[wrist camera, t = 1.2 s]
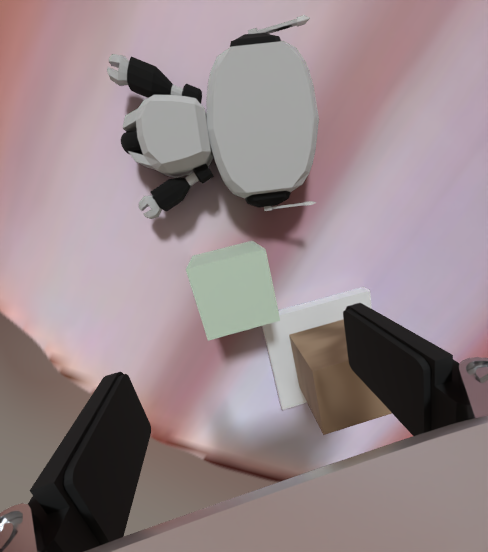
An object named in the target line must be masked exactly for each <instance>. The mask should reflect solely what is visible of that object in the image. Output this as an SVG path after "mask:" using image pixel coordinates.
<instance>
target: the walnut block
mask: <svg viewBox="0 0 488 552" xmlns="http://www.w3.org/2000/svg"><path fill="white" fill-rule="evenodd" d="M289 337H290V342H291V347H292V352H293V358H294V363H295V368H296V373H297V378H298V383H299V387H300V389H301V391H302V393H303V395H304V397H305V399H306V401H307V403H308V405H309V407H310V409H311V411H312V413H313V415H314V417H315V419H316V421H317V423H318V425H319V427H320V429H321V431H322V433H323V435H325V434H328V433H331V432H334V431H338V430H341V429H344V428H347V427H350V426H353V425H357V424H360V423H363V422H366V421H369V420H372V419H375V418H379V417H382V416H385V415H388V414H391V413H392V412H391V411H390V410H389V409H388V408H387V407H386V406H385V405H384V404H383V403H382V402H381V401H380V399H379V398H378V397H377V396H376V395H375V394H374V393H373V392H372V391H371V390H370V389H369V388H368V387H367V386H366V384H365V383H364V382H363V381H362V380H361V379H360V378H359V377H358V376H357V375H356V374H355V373H354V372H353V370H352V369H351V367H350V365H349V361H348V352H347V344H346V336H345V327H344V319H343V320H339V321H336V322H332V323H329V324H325V325H322V326H318V327H314V328H311V329H307V330H304V331H300V332H297V333H293V334H290V335H289Z"/></svg>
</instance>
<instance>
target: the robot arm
mask: <svg viewBox="0 0 488 552" xmlns="http://www.w3.org/2000/svg"><path fill="white" fill-rule="evenodd" d="M343 319H344V327H345V336H346V344H347V352H348V361H349V365H350V367H351V369H352V370H353V372H354V373H355V374H356V375H357V376H358V377H359V378H360V379H361V380H362V381H363V382H364V383H365V384H366V386H367V387H368V388H369V389H370V390H371V391H372V392H373V393H374V394H375V395H376V396H377V397H378V398H379V399H380V401H381V402H382V403H383V404H384V405H385V406H386V407H387V408H388V409H389V410H390V411H391V412H392V413H393V414H394V416H395V417H396V418H397V419H398V420H399V421H400V422H401V423H402V424H403V425H404V426H405V427H406V428H407V429H408V431H409V432H410V433H411V434H412V435H413V437H410V438H407V439H404V440H401V441H398V442H395V443H392V444H389V445H386V446H383V447H380V448H377V449H374V450H371V451H368V452H365V453H362V454H359V455H357V456H354V457H351V458H348V459H345V460H342V461H339V462H336V463H333V464H330V465H327V466H324V467H321V468H318V469H315V470H313V471H310V472H307V473H304V474H301V475H298V476H295V477H292V478H289V479H287V480H284V481H281V482H278V483H275V484H272V485H269V486H266V487H264V488H261V489H258V490H255V491H252V492H249V493H246V494H243V495H240V496H238V497H235V498H232V499H229V500H226V501H223V502H221V503H218V504H215V505H212V506H209V507H206V508H203V509H201V510H198V511H195V512H192V513H189V514H186V515H184V516H181V517H178V518H175V519H172V520H169V521H167V522H164V523H161V524H158V525H156V526H153V527H150V528H147V529H144V530H141V531H138V532H136V533H133V534H130V535H127V536H124V532H125V528H126V524H127V521H128V517H129V513H130V509H131V506H132V502H133V498H134V494H135V491H136V487H137V483H138V480H139V476H140V472H141V468H142V464H143V461H144V457H145V453H146V450H147V446H148V442H149V438H150V434H151V426H150V423H149V421H148V418H147V416H146V414H145V412H144V409H143V407H142V405H141V403H140V401H139V398H138V396H137V394H136V392H135V389H134V387H133V385H132V383H131V380H130V378H129V376H128V375H127V374H123V373H122V372H118V373H114V374H111V375H107V376H105V377H104V378H103V379H102V381H101V382H100V384H99V385H98V387H97V388H96V390H95V391H94V393H93V395H92V396H91V398H90V399H89V401H88V402H87V404H86V405H85V407H84V409H83V410H82V411H81V413H80V414H79V416H78V418H77V419H76V421H75V422H74V424H73V425H72V427H71V428H70V430H69V431H68V433H67V434H66V436H65V437H64V439H63V441H62V442H61V444H60V445H59V447H58V448H57V450H56V451H55V453H54V454H53V456H52V458H51V459H50V461H49V462H48V464H47V465H46V467H45V468H44V470H43V471H42V473H41V474H40V476H39V477H38V479H37V480H36V482H35V483H34V485H33V486H32V488H31V490H30V492H31V493H32V494H33V497H32V498H31V500H30V502H29V503H28V504H24V503H21V504H18V505H14V506H12V507H10V508H8V509H6V510H4V511H2V512H1V513H0V552H488V358H480V357H475V358H468V359H465V360H463V361H462V362H461V363H460V364H459V363H458V362H456V361H454V360H453V355H452V354H450V353H448V352H446V351H445V350H443V349H441V348H439V347H438V346H436V345H434V344H432V343H431V342H429V341H427V340H425V339H423V338H422V337H420V336H418V335H416V334H415V333H413V332H411V331H409V330H408V329H406V328H404V327H402V326H401V325H399V324H397V323H395V322H394V321H392V320H390V319H388V318H387V317H385V316H383V315H381V314H380V313H378V312H376V311H374V310H373V309H371V308H369V307H367V306H366V305H364V304H362V303H357V304H353V305H350V306H347V307H346V310H345V311H343ZM123 536H124V537H123Z"/></svg>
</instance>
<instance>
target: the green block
mask: <svg viewBox="0 0 488 552" xmlns="http://www.w3.org/2000/svg"><path fill="white" fill-rule="evenodd" d="M186 272H187V275H188V278H189V281H190V284H191V288H192V291H193V294H194V297H195V300H196V304H197V307H198V310H199V313H200V316H201V319H202V323H203V326H204V329H205V332H206V335H207V339H208V341H209V340H212V339H216V338H219V337H223V336H227V335H230V334H234V333H237V332H241V331H245V330H248V329H252V328H255V327H259V326H263V325H266V324H270V323H273V322H277V321H280V317H279V312H278V308H277V303H276V298H275V293H274V288H273V283H272V279H271V274H270V269H269V264H268V259H267V254H266V250H265V249H264V248H263V247H261V246H260V245H258V244H256V243H255V242H253V241H249V242H245V243H242V244H238V245H234V246H230V247H226V248H222V249H218V250H214V251H210V252H206V253H202V254H198V255H194V256H192V258H191V260H190V262H189V264H188V266H187V268H186Z"/></svg>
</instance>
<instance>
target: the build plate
mask: <svg viewBox="0 0 488 552" xmlns="http://www.w3.org/2000/svg"><path fill="white" fill-rule="evenodd" d="M357 303H362V304H364V305H366V306H367V307H369V308H371V296H370V290H368V289H366V288H364V287H361V288H357V289H354V290H350V291H347V292H343V293H339V294H336V295H332V296H328V297H325V298H321V299H317V300H314V301H310V302H306V303H303V304H299V305H296V306H292V307H288V308H285V309H281V310H278V312H279V317H280V321H277V322H273V323H270V324H266V325H263V326H262V329H263V333H264V337H265V342H266V346H267V350H268V354H269V359H270V363H271V367H272V371H273V376H274V380H275V384H276V389H277V393H278V397H279V401H280V404H281V407H282V410H285V409H288V408H291V407H295V406H298V405H301V404H305V403H307V401H306V399H305V397H304V395H303V393H302V391H301V389H300V387H299V383H298V378H297V373H296V368H295V363H294V358H293V352H292V347H291V342H290V337H289V335H290V334H293V333H297V332H300V331H304V330H307V329H311V328H314V327H318V326H322V325H325V324H329V323H332V322H336V321H339V320H343V311H345V310H346V307H347V306H350V305H353V304H357Z"/></svg>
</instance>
